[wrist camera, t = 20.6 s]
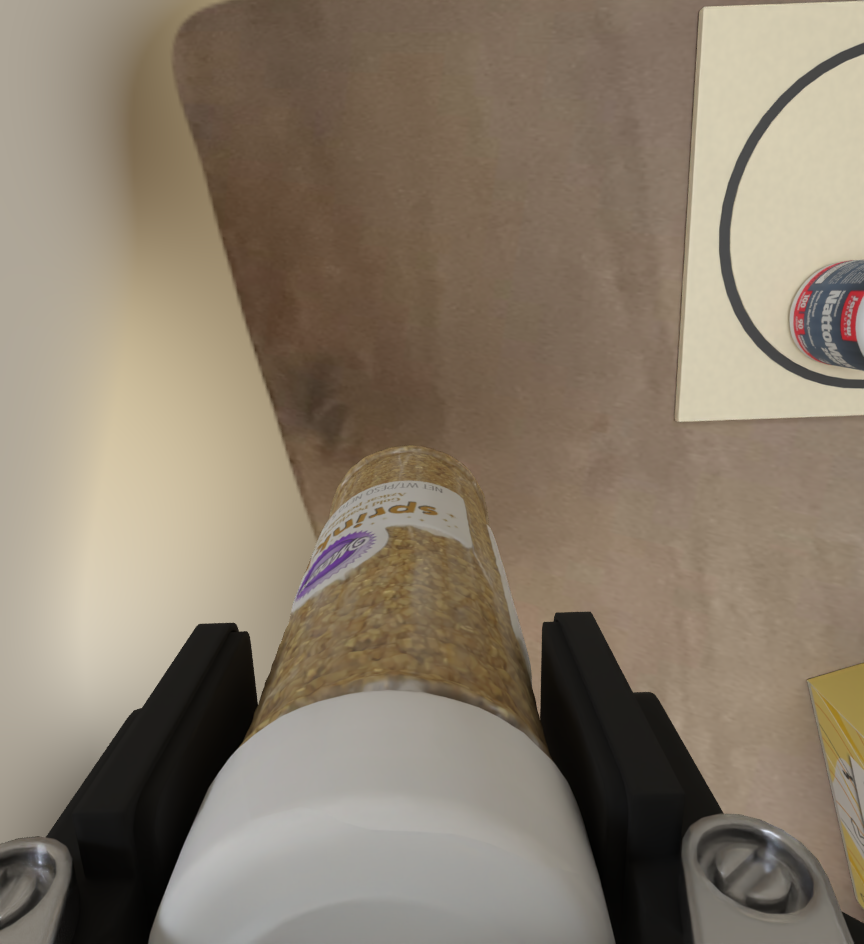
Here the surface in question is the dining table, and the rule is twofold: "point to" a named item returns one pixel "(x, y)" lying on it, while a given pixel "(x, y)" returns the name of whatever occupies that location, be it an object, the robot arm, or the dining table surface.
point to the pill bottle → (831, 315)
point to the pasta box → (844, 757)
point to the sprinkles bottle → (393, 749)
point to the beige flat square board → (769, 206)
